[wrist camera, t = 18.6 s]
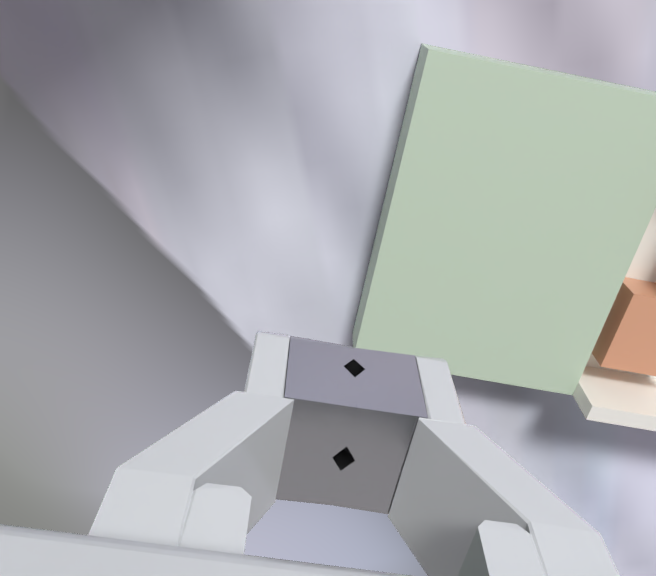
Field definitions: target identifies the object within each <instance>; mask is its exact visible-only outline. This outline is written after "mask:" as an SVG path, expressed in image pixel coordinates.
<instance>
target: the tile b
mask: <svg viewBox="0 0 656 576" xmlns="http://www.w3.org/2000/svg"><path fill="white" fill-rule="evenodd" d="M592 354H593V356H594V357H595V359H596V360H597V362H598V363H599V365H600V366H601V367H606V368H612V369H618V370H623V371H629V372H634V373H640V374H646V375H651V376H656V283H654V282H649V281H644V280H638V279H633V278H628V277H625V278H624V281H623V283H622V285H621V287H620V290H619V292H618V294H617V296H616V299H615V301H614V303H613V305H612V308H611V310H610V312H609V315H608V317H607V319H606V321H605V324H604V326H603V328H602V330H601V333H600V335H599V337H598V339H597V342H596V344H595V346H594V348H593V351H592Z"/></svg>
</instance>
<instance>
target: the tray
mask: <svg viewBox="0 0 656 576" xmlns="http://www.w3.org/2000/svg"><path fill="white" fill-rule="evenodd" d="M625 277H628V278H633V279H638V280H644V281H649V282H654V283H656V208H655V210H654V213H653V215H652V217H651V219H650V222H649V224H648V226H647V228H646V231H645V233H644V235H643V238H642V240H641V242H640V244H639V247H638V249H637V251H636V253H635V256H634V258H633V260H632V262H631V265H630V267H629V269H628V271H627V274H626V276H625ZM573 397H574V399H575V400H576V402H577V404H578V406H579V408H580V409H581V411H582V413H583V415H584V417H585V418H586V420H592V421H598V422H603V423H609V424H615V425H621V426H627V427H633V428H639V429H645V430H651V431H656V376H651V375H646V374H640V373H634V372H629V371H623V370H618V369H612V368H606V367H601V366H600V365H599V363H598V362H597V360H596V359H595V357H594V356H593V354H592V353H591V355H590V358H589V360H588V362H587V364H586V367H585V369H584V371H583V373H582V376H581V378H580V380H579V382H578V385H577V387H576V389H575V391H574V394H573Z"/></svg>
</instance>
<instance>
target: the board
mask: <svg viewBox="0 0 656 576" xmlns="http://www.w3.org/2000/svg"><path fill="white" fill-rule="evenodd" d="M655 208H656V92H654V91H649V90H644V89H639V88H635V87H630V86H625V85H620V84H615V83H610V82H605V81H601V80H596V79H591V78H586V77H581V76H576V75H571V74H567V73H562V72H557V71H552V70H547V69H542V68H538V67H533V66H528V65H523V64H518V63H513V62H508V61H504V60H499V59H494V58H489V57H484V56H479V55H474V54H470V53H465V52H460V51H455V50H450V49H445V48H440V47H436V46H431V45H426V44H421V48H420V52H419V57H418V61H417V65H416V69H415V73H414V77H413V82H412V86H411V90H410V94H409V98H408V103H407V107H406V111H405V115H404V119H403V124H402V128H401V132H400V136H399V140H398V144H397V149H396V153H395V157H394V161H393V165H392V170H391V174H390V178H389V182H388V186H387V191H386V195H385V199H384V203H383V207H382V211H381V216H380V220H379V224H378V228H377V232H376V237H375V241H374V245H373V249H372V253H371V257H370V262H369V266H368V270H367V274H366V278H365V283H364V287H363V291H362V295H361V299H360V304H359V308H358V312H357V316H356V320H355V324H354V329H353V333H352V334H353V348H360V349H368V350H376V351H384V352H392V353H399V354H407V355H417V356H425V357H434V358H443V359H444V360H446V361H447V363H448V366H449V369H450V373H451V375H457V376H462V377H468V378H474V379H480V380H486V381H492V382H497V383H503V384H509V385H515V386H521V387H527V388H532V389H538V390H544V391H550V392H556V393H562V394H567V395H573V394H574V391H575V389H576V387H577V385H578V382H579V380H580V378H581V376H582V373H583V371H584V369H585V367H586V364H587V362H588V360H589V358H590V355H591V353H592V351H593V348H594V346H595V344H596V342H597V339H598V337H599V335H600V333H601V330H602V328H603V326H604V324H605V321H606V319H607V317H608V315H609V312H610V310H611V308H612V305H613V303H614V301H615V299H616V296H617V294H618V292H619V290H620V287H621V285H622V283H623V281H624V278H625V276H626V274H627V271H628V269H629V267H630V265H631V262H632V260H633V258H634V256H635V253H636V251H637V249H638V247H639V244H640V242H641V240H642V238H643V235H644V233H645V231H646V228H647V226H648V224H649V222H650V219H651V217H652V215H653V213H654V210H655Z"/></svg>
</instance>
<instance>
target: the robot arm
mask: <svg viewBox="0 0 656 576" xmlns="http://www.w3.org/2000/svg"><path fill="white" fill-rule="evenodd" d="M276 499H278V500H288V501H297V502H307V503H317V504H326V505H334V506H340V507H347V508H353V509H359V510H366V511H372V512H378V513H384V514H389V515H388V518H389V519H390V520H391V522H392V523H393V525H394V526H395V528H396V529H397V531H398V532H399V534H400V535H401V537H402V538H403V540H404V541H405V543H406V544H407V546H408V547H409V549H410V550H411V552H412V553H413V554H414V556H415V557H416V559H417V560H418V562H419V563H420V565H421V566H422V568H423V569H424V571H425V572H426V574H427V575H428V576H620V575H619V573H618V571H617V568H616V566H615V564H614V562H613V560H612V558H611V556H610V553H609V551H608V549H607V547H606V545H605V543H604V540H603V538H602V536H601V534H600V533H599V532H598V531H597V530H596V529H594V528H593V527H592V526H591V525H590V524H589V523H588V522H586V521H585V520H584V519H583V518H582V517H581V516H579V515H578V514H577V513H576V512H575V511H574V510H572V509H571V508H570V507H569V506H568V505H567V504H565V503H564V502H563V501H562V500H561V499H560V498H558V497H557V496H556V495H555V494H554V493H553V492H551V491H550V490H549V489H548V488H547V487H546V486H545V485H543V484H542V483H541V482H540V481H539V480H538V479H536V478H535V477H534V476H533V475H532V474H531V473H529V472H528V471H527V470H526V469H525V468H524V467H522V466H521V465H520V464H519V463H518V462H517V461H515V460H514V459H513V458H512V457H511V456H510V455H508V454H507V453H506V452H505V451H504V450H503V449H502V448H500V447H499V446H498V445H497V444H496V443H495V442H493V441H492V440H491V439H490V438H489V437H488V436H486V435H485V434H484V433H483V432H482V431H481V430H479V429H478V428H477V427H476V426H474V425H467V424H466V423H465V420H464V416H463V413H462V410H461V406H460V403H459V400H458V396H457V393H456V390H455V386H454V383H453V379H452V376H451V373H450V369H449V366H448V363H447V361H446V360H444V359H443V358H434V357H425V356H417V355H407V354H399V353H392V352H384V351H376V350H368V349H360V348H353V347H352V346H346V345H341V344H335V343H329V342H323V341H317V340H312V339H306V338H300V337H294V336H290V338H289V336H288V335H284V334H277V333H270V332H263V331H258V332H257V333H256V336H255V341H254V346H253V351H252V356H251V361H250V366H249V371H248V375H247V381H246V385H245V390H244V392H240V391H234V392H232V393H231V394H229V395H228V396H226V397H225V398H223V399H222V400H220V401H219V402H217V403H215V404H214V405H212V406H211V407H209V408H208V409H206V410H205V411H203V412H202V413H200V414H199V415H197V416H196V417H194V418H192V419H191V420H189V421H188V422H187V423H185V424H183V425H182V426H180V427H179V428H177V429H176V430H174V431H172V432H171V433H170V434H168V435H166V436H165V437H163V438H162V439H160V440H159V441H157V442H156V443H154V444H153V445H151V446H150V447H148V448H146V449H145V450H143V451H142V452H140V453H139V454H137V455H136V456H134V457H133V458H131V459H130V460H128V461H126V462H125V463H123V464H122V465H120V466H119V467H117V469H116V471H115V473H114V476H113V478H112V480H111V483H110V485H109V487H108V490H107V492H106V495H105V497H104V499H103V501H102V504H101V506H100V508H99V511H98V513H97V515H96V518H95V520H94V522H93V525H92V527H91V529H90V532H89V534H88V535H83V534H75V533H67V532H59V531H51V530H44V529H35V528H28V527H19V526H11V525H3V524H0V576H411V575H403V574H395V573H387V572H379V571H370V570H362V569H354V568H346V567H338V566H330V565H322V564H314V563H306V562H298V561H290V560H282V559H275V558H267V557H259V556H250V555H244V550H245V542H246V535H247V534H248V532H249V531H250V530H251V529H252V528H253V527H254V526H255V524H256V523H257V522H258V521H259V520H260V519H261V518H262V517H263V515H264V514H265V513H266V512H267V511H268V510H269V509H270V507H271V506H272V505H273V504H274V503H275V500H276Z"/></svg>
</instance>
